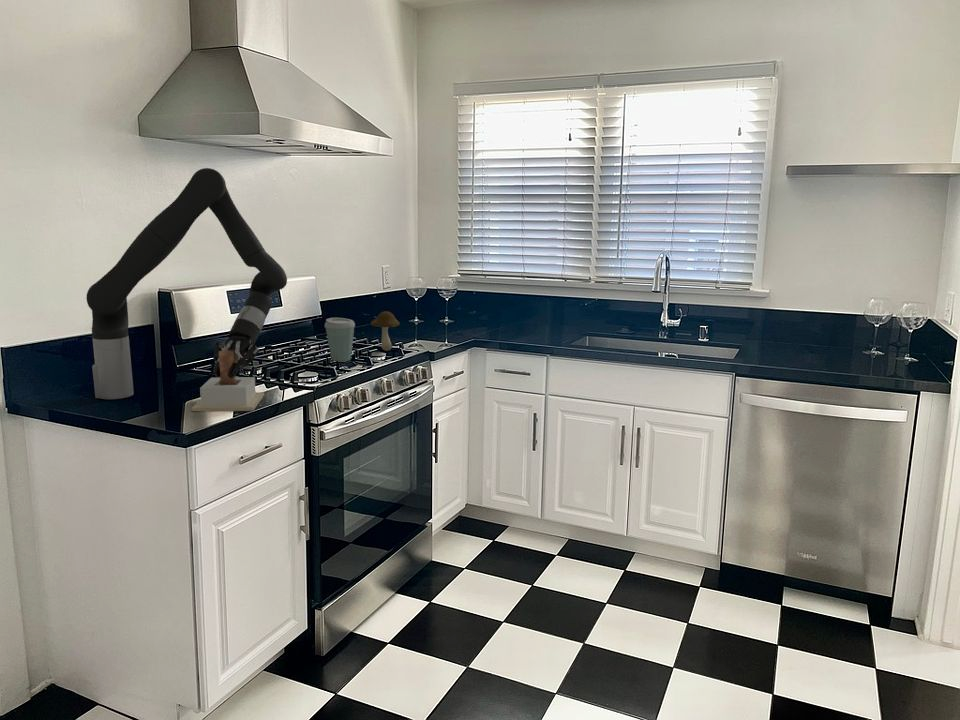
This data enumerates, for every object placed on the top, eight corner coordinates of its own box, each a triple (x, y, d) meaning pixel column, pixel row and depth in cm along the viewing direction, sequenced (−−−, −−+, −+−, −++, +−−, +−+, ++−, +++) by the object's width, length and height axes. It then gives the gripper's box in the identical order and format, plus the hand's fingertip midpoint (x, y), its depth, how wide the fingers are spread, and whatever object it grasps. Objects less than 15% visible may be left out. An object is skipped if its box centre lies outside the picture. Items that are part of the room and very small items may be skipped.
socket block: (191, 411, 201) (190, 389, 200) (207, 396, 217) (206, 376, 215) (253, 410, 203) (251, 389, 201) (264, 395, 218) (263, 375, 217)
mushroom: (379, 347, 290) (378, 308, 287) (405, 350, 285) (404, 310, 282) (366, 351, 282) (365, 311, 279) (391, 354, 277) (391, 314, 274)
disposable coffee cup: (359, 358, 269) (358, 317, 266) (351, 365, 259) (350, 322, 256) (330, 357, 270) (329, 316, 267) (321, 364, 260) (320, 321, 257)
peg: (219, 392, 207) (217, 353, 204) (223, 388, 211) (220, 350, 208) (234, 391, 207) (232, 352, 205) (237, 388, 211) (235, 349, 209)
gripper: (220, 316, 214) (194, 366, 205) (263, 319, 209) (238, 370, 201) (233, 331, 220) (209, 381, 211) (275, 334, 215) (251, 385, 207)
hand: (223, 375), depth 206 cm, fingers closed on peg, 4 cm apart
